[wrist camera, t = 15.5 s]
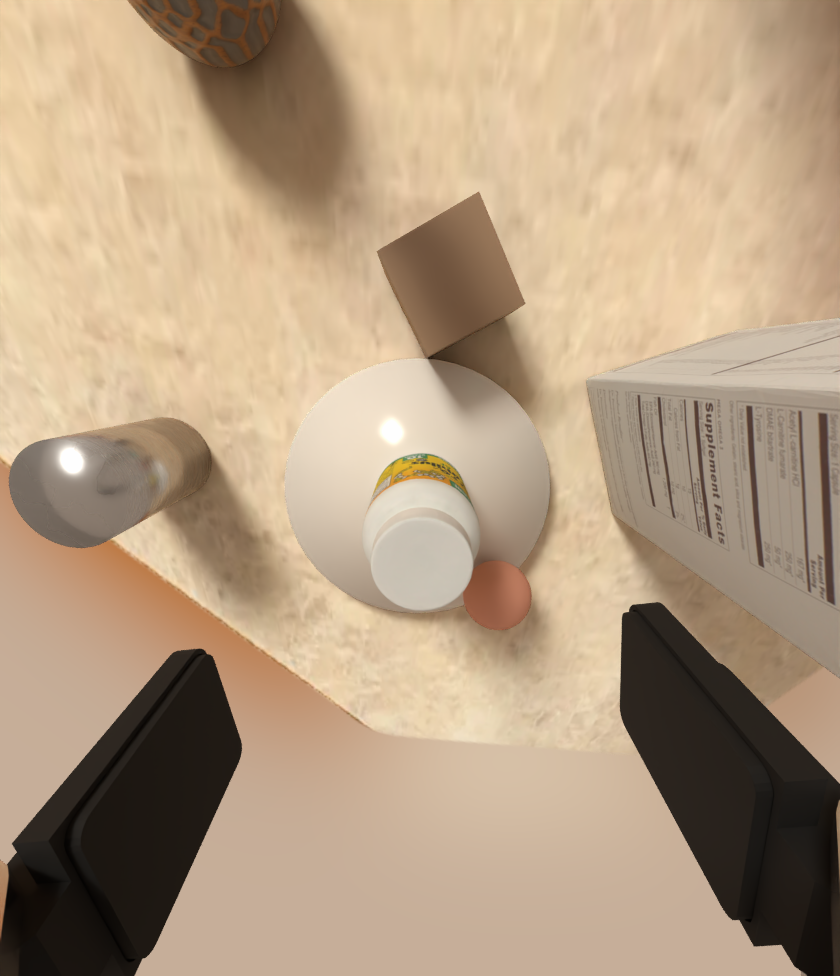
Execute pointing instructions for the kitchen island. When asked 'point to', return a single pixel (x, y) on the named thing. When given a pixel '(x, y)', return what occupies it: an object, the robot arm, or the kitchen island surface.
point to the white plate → (406, 430)
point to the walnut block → (451, 276)
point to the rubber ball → (497, 595)
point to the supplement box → (737, 469)
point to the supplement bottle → (421, 532)
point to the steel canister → (106, 479)
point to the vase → (212, 27)
